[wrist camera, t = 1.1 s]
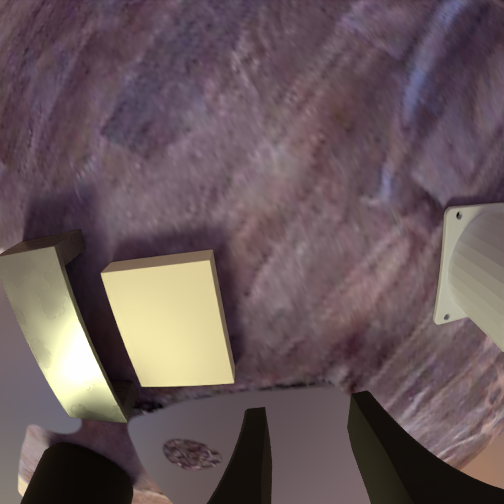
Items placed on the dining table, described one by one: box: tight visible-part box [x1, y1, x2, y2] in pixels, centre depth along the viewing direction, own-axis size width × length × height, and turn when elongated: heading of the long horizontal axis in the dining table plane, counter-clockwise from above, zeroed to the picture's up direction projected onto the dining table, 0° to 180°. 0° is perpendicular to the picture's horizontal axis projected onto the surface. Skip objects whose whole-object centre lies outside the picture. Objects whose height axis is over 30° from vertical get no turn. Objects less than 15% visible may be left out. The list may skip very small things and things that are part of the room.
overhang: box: [0, 229, 138, 423], centre depth 17 cm, size 5×12×3 cm, turn 7°
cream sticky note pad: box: [101, 249, 235, 387], centre depth 18 cm, size 6×8×2 cm
